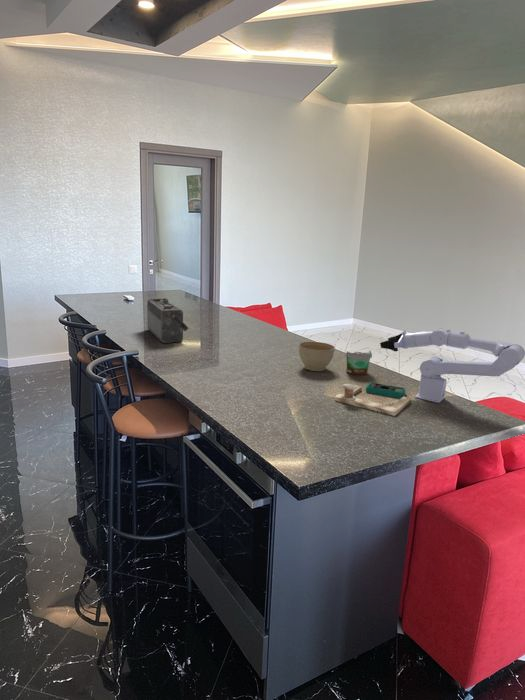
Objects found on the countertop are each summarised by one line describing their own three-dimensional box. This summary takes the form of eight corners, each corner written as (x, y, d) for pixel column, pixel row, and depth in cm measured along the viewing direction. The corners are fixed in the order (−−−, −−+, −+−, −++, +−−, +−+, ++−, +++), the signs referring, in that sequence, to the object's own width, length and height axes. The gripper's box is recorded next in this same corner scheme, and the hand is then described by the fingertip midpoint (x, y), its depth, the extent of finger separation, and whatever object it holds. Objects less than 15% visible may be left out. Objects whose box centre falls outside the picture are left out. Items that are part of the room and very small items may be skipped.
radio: (146, 329, 282) (146, 295, 277) (171, 328, 288) (171, 295, 283) (162, 344, 249) (161, 306, 244) (189, 343, 255) (189, 305, 250)
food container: (349, 377, 209) (351, 354, 207) (343, 372, 215) (345, 351, 213) (375, 376, 213) (377, 354, 210) (368, 371, 218) (370, 350, 216)
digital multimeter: (368, 387, 198) (369, 381, 197) (405, 394, 192) (406, 387, 191) (364, 393, 191) (365, 386, 190) (402, 400, 185) (403, 392, 184)
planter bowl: (331, 375, 210) (333, 351, 207) (295, 371, 213) (296, 347, 210) (333, 365, 225) (335, 343, 223) (299, 362, 228) (301, 340, 226)
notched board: (410, 402, 182) (412, 386, 180) (393, 416, 167) (396, 399, 165) (354, 388, 194) (355, 373, 193) (334, 400, 179) (335, 384, 178)
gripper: (422, 325, 192) (390, 329, 201) (407, 333, 181) (375, 337, 190) (425, 342, 193) (393, 345, 202) (411, 351, 182) (378, 354, 191)
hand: (384, 342), depth 196 cm, fingers open, 7 cm apart
